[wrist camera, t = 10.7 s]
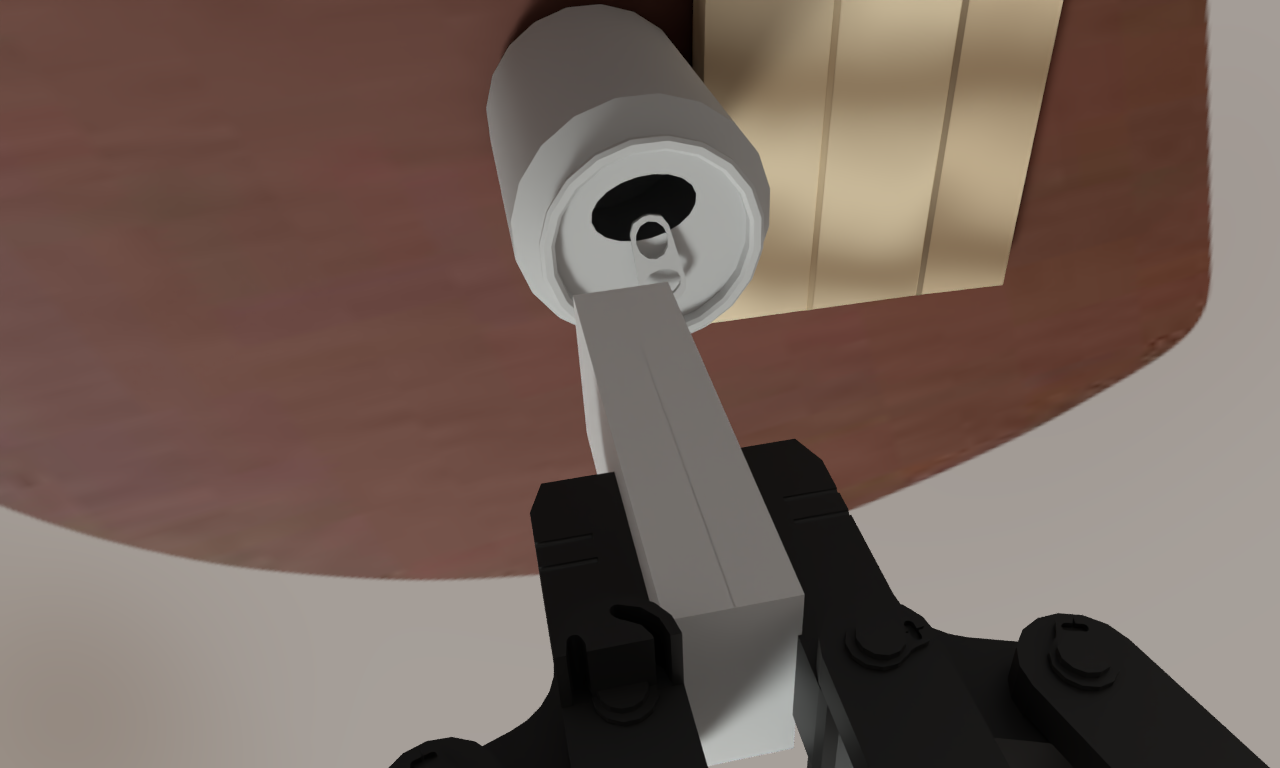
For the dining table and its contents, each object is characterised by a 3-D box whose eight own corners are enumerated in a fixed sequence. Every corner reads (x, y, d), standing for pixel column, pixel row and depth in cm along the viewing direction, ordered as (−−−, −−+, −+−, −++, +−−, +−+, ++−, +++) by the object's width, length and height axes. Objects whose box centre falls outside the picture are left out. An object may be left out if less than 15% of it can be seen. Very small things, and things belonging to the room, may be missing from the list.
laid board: (981, -270, 33) (1005, -268, 31) (1094, -272, 33) (1121, -271, 32) (900, 278, 44) (915, 295, 43) (986, 268, 45) (1003, 285, 43)
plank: (696, -262, 31) (711, -260, 30) (980, -269, 33) (1005, -268, 31) (688, 306, 42) (698, 325, 41) (899, 278, 44) (915, 295, 43)
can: (667, -28, 35) (772, 80, 25) (703, 170, 39) (803, 327, 30) (457, 29, 35) (480, 160, 25) (516, 222, 39) (556, 398, 29)
